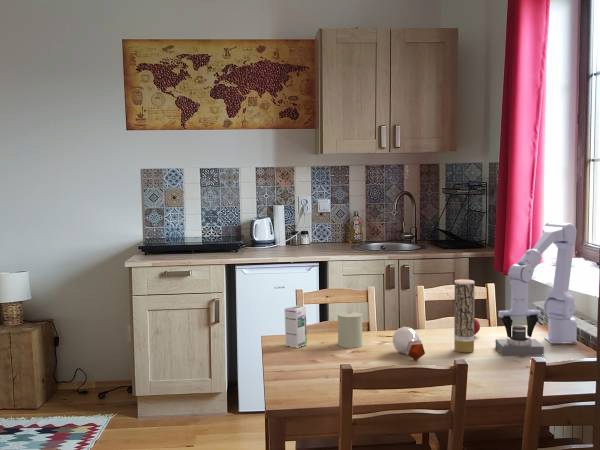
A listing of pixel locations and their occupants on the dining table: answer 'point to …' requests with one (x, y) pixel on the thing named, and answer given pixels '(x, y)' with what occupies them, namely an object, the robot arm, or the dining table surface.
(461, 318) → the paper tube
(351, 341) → the can
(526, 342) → the block
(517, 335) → the lens
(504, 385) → the dining table surface
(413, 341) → the potion bottle
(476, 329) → the onion
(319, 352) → the dining table surface
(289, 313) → the syrup box
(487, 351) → the dining table surface
